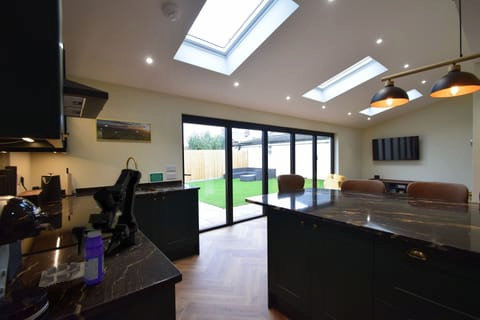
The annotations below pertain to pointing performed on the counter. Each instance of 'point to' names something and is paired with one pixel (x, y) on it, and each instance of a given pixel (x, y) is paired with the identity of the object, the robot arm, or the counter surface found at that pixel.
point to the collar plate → (62, 274)
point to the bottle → (94, 258)
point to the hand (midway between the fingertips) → (93, 254)
